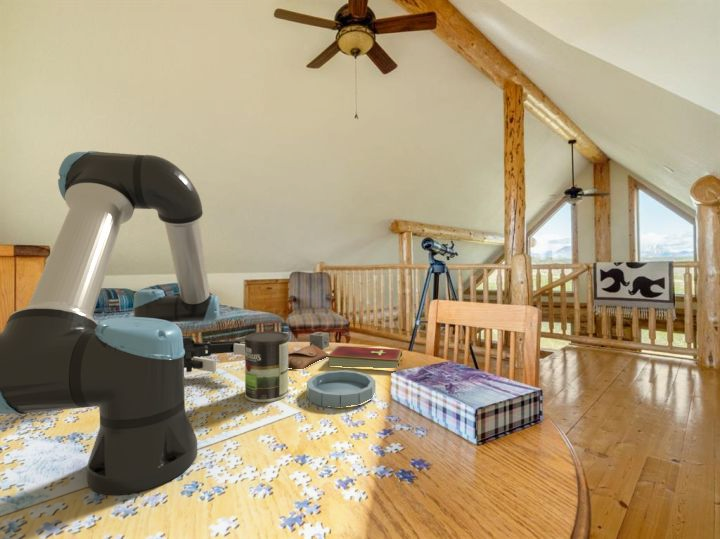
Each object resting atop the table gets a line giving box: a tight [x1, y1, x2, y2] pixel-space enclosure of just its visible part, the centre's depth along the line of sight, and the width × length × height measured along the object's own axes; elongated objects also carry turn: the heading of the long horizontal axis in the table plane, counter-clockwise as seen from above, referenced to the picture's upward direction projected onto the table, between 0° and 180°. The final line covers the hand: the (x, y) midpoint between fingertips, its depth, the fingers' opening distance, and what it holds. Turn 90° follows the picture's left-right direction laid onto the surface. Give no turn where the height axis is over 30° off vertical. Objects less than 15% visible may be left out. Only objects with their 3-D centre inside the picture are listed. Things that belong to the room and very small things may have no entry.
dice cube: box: [309, 331, 330, 351], centre depth 129 cm, size 5×5×5 cm
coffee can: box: [243, 331, 290, 403], centre depth 87 cm, size 10×10×14 cm
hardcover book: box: [327, 345, 403, 368], centre depth 111 cm, size 12×21×4 cm, turn 78°
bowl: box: [306, 369, 376, 407], centre depth 87 cm, size 16×16×3 cm
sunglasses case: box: [288, 344, 329, 369], centre depth 113 cm, size 18×7×7 cm, turn 155°
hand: (235, 358), depth 90 cm, fingers open, 13 cm apart
